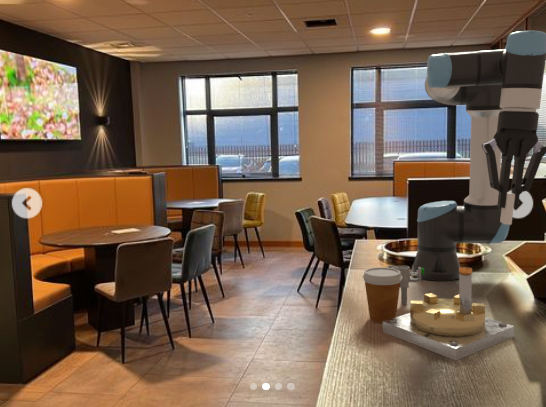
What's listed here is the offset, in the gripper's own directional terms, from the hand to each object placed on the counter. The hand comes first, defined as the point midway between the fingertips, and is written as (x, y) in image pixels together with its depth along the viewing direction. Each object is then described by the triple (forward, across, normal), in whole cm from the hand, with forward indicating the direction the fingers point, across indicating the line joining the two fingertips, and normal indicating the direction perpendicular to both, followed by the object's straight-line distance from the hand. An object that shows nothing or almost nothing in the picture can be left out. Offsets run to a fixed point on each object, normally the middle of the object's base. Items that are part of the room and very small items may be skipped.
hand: (505, 223), depth 111 cm
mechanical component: (+28, +16, -23) cm, 40 cm away
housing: (+27, +9, -2) cm, 28 cm away
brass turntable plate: (+24, +10, -2) cm, 26 cm away
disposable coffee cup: (+28, +22, -11) cm, 38 cm away
